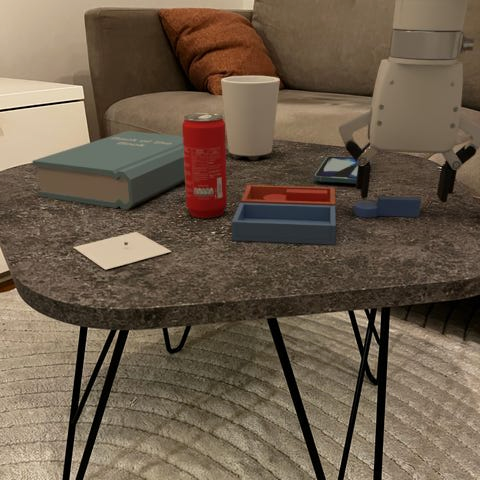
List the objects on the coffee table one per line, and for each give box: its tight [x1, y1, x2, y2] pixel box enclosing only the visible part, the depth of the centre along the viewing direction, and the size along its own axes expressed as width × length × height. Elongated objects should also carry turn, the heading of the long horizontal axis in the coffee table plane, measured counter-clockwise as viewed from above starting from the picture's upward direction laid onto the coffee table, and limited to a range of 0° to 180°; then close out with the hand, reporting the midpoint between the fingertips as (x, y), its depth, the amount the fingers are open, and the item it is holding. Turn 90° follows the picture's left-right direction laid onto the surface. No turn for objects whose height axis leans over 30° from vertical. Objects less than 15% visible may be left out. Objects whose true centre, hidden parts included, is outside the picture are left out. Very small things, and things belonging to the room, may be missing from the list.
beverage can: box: [181, 112, 228, 219], centre depth 74 cm, size 5×5×12 cm
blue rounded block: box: [352, 195, 422, 219], centre depth 75 cm, size 8×3×2 cm, turn 83°
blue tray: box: [231, 202, 337, 246], centre depth 70 cm, size 12×7×2 cm, turn 83°
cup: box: [220, 75, 281, 162], centre depth 101 cm, size 10×10×13 cm
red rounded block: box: [263, 189, 327, 202], centre depth 76 cm, size 8×3×2 cm, turn 82°
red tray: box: [240, 184, 336, 207], centre depth 77 cm, size 12×7×2 cm, turn 83°
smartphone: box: [313, 155, 371, 185], centre depth 94 cm, size 7×1×15 cm
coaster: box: [72, 231, 173, 271], centre depth 65 cm, size 8×8×1 cm
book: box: [31, 130, 185, 211], centre depth 88 cm, size 23×16×5 cm
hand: (402, 196), depth 75 cm, fingers open, 9 cm apart
